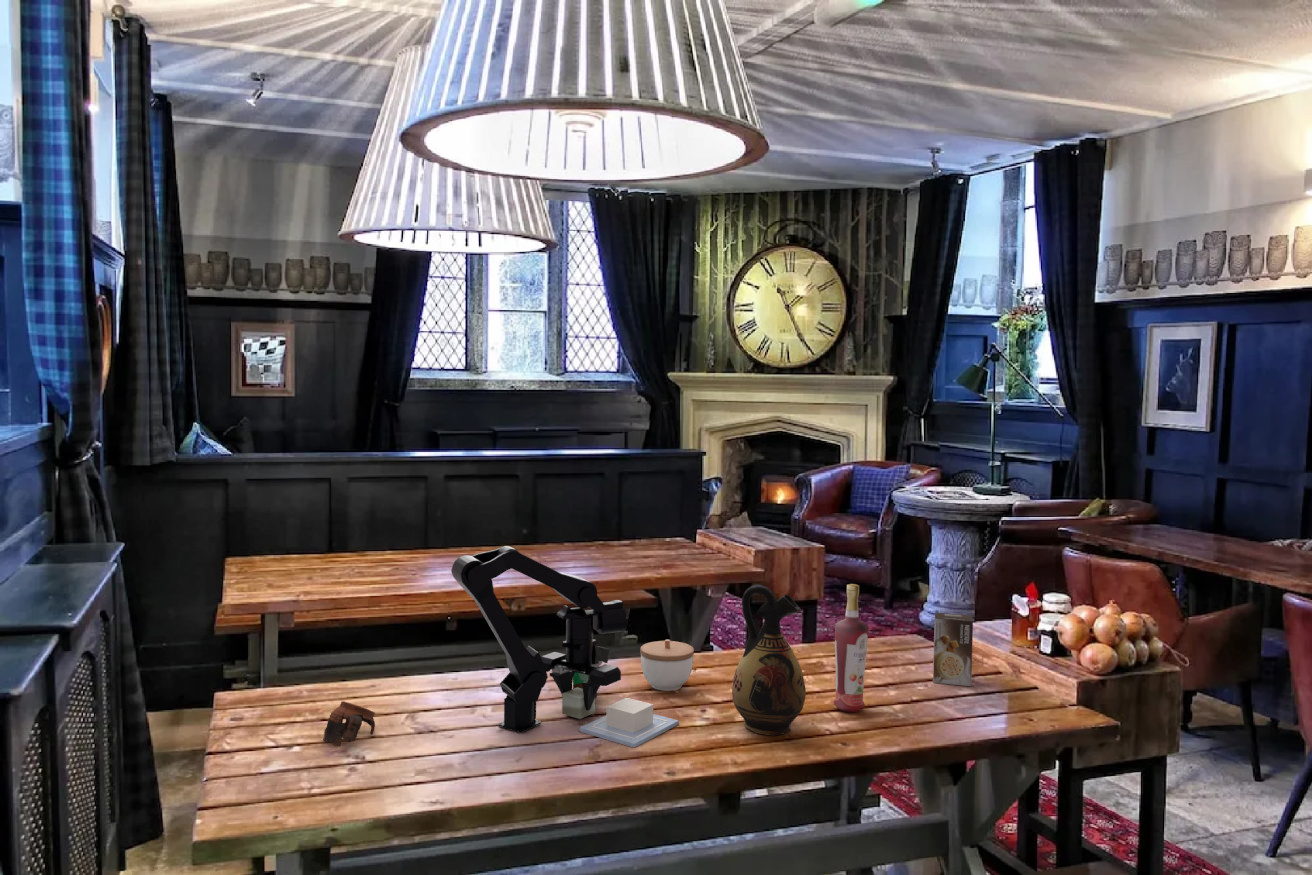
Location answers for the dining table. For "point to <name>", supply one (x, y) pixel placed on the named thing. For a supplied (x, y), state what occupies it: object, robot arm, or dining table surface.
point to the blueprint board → (627, 740)
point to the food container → (582, 678)
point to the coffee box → (953, 649)
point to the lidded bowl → (666, 664)
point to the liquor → (850, 655)
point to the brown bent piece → (347, 723)
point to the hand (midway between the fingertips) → (578, 707)
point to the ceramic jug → (768, 669)
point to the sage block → (575, 704)
